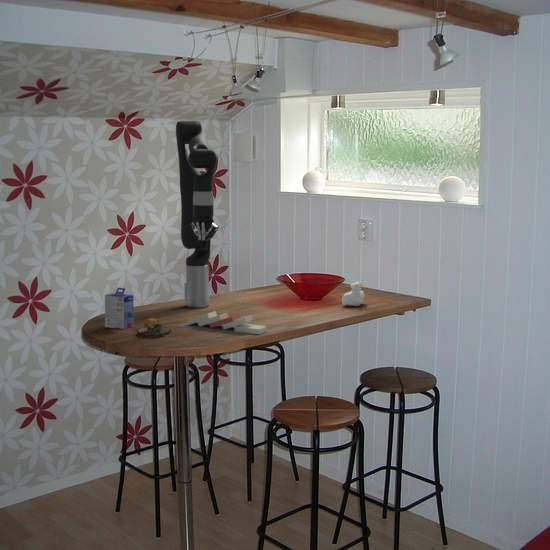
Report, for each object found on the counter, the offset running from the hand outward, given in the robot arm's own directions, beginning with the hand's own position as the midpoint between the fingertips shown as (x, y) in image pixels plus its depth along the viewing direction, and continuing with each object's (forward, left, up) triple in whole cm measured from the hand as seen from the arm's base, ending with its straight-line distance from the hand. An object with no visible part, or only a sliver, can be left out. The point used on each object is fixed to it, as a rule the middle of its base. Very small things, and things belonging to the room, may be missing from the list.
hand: (203, 250), depth 284 cm
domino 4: (+21, -10, -25) cm, 34 cm away
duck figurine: (+39, +52, -27) cm, 71 cm away
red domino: (+11, -10, -25) cm, 29 cm away
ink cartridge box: (-21, -25, -27) cm, 42 cm away
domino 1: (0, -10, -25) cm, 27 cm away
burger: (-4, -27, -27) cm, 38 cm away
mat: (+12, -10, -27) cm, 31 cm away
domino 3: (+16, -10, -25) cm, 31 cm away
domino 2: (+5, -10, -25) cm, 28 cm away
